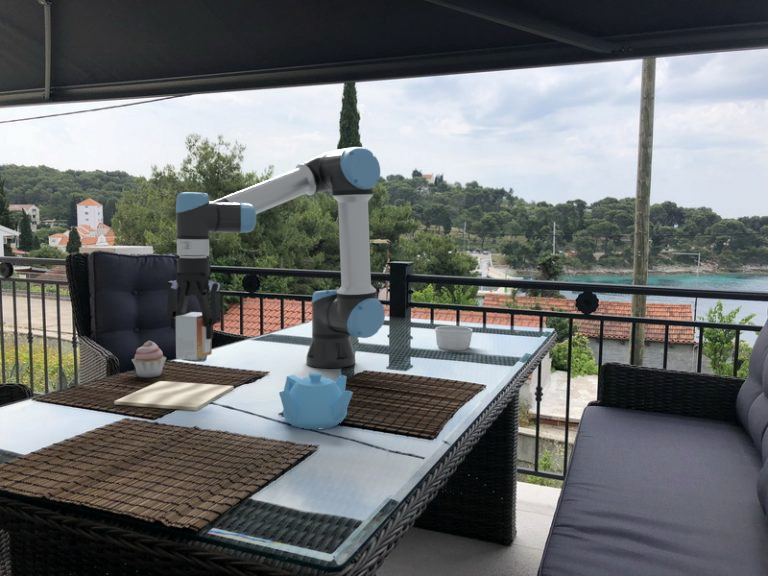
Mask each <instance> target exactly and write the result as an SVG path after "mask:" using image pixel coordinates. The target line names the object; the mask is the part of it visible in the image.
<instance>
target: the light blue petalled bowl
mask: <svg viewBox="0 0 768 576" xmlns="http://www.w3.org/2000/svg"><path fill="white" fill-rule="evenodd" d="M322 376H323V374H322V373H321V372H310V373H309V374H308V377H304V378H300V377H298V376H297V375H295V374H290V375H287V376H286V379H285V384H284V388H283V391H279V398H280V400H281V404H282V408H283V410H282V415H283V417H284V419H285V420H286V421H287V423H289V425H290V424H291V425H290V426H291V427H294V426H295V427H294V428H297V427H298V429H301V428H304V429H303V430H310V429H317V430H320V429H319V428H327V429H330V428H329V427H331V428H334V427H333V426H335V427H337V426H338V424H339V423H340V424H341V423H342V422H343V421H344V420H345V418H346V416H347V415H348V406H349V404H350V401H351V399H352V397H353V394H354V392H353V391H350V390H346V388H347V387H346V386H347V385H346V384H347V378H348V377H347V375H344V374H343V375H339V376H338V377H337V379H336V381H335V380H334V379H332V378H328V377H322ZM340 424H339V425H340ZM336 425H337V426H336Z"/></svg>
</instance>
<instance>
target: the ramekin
mask: <svg viewBox="0 0 768 576" xmlns="http://www.w3.org/2000/svg"><path fill="white" fill-rule="evenodd" d="M434 332H435V337H436V338H435V339H436V345H437V347H438V349H441V350H445V351H465V350H468V349H469V348H470V345H471V342H472V336H473V333H474V332H473V328H470V327H466V326H461V325H460V326H459V325H441V326H436V327H435V329H434Z"/></svg>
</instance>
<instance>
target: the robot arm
mask: <svg viewBox="0 0 768 576" xmlns="http://www.w3.org/2000/svg"><path fill="white" fill-rule="evenodd" d="M380 178H381V166H380V162H379V160H378V158H377V156H376V155H375V154H374V153H373V152H372V151H371V150H369V149H368V148H365V147H361V146H352V147H350V146H349V147H347V148H346V147H345V148H341V149H340V148H339V149H335V150H334V149H332V150H328V151H325V152H323V153H321V154H318V155H316V156H315V157H312V158H310V159H308V160H306V161H303V162H301V163H299V164H296V166H295V169H293V170H290V171H287V172H285V173H282V174H280V175H277V176H275V177H273V178H269V179H267V180H264V181H261V182H259V183H256V184H254V185H251V186H249V187H246V188H243V189H241V190H238V191H236V192H234V193H233V192H232V193H230V194H228V195H226V196H224V197H221V198H218V199H216V200H212V201H210V196H209V194H208V193H206V192H194V191H193V192H191V191H188V192H187V191H185V192H183V191H181V192H179V193H178V194H177V196H176V203H175V218H176V219H175V220H176V255H177V256H179V257H178V258H177V259H176V272H177V277H176V279H175V280H170V281H166V282H165V287H166V291H167V310H166V311H167V314H166V321H167V322H169V323H173V324H174V336H175V337H176V316H180V315H184V314H187V309H188V305H189V303H190V302H189V301H190V298H191V297H192V296H195V298H196V300H197V301H198V304H199V308H200V311H201V312H202V316H203V319H204V323H205V325H204V326H202V353H207V352H209V351H210V339H213V338H214V325H217V324H218V323H219V324H220V323H221V321H222V319H221V318H222V316H221V300H220V299H221V297H220V296H221V293H220V292H221V288H222V283H221V282H215V281H213V280H211V277H210V259H209V258H208V256H209V255H210V233H231V234H232V233H233V234H234V233H235V234H236V233H237V234H238V233H239V234H242V233H251V232H252V231H254V229H255V228H256V225H257V215H258V214H260V213H261V212H264V211H267V210H270V209H272V208H274V207H276V206H279V205H283V204H284V203H286V202H289V201H291V200H294V199H296V198H298V197H302V196H303V195H306V196H313V195H315V194H317V193H322V192H329V191H331V194H332V195H331V196H332V198H333V199H334V200H335V201H337V209H338V231H339V233H338V234H339V235H338V236H339V256H340V257H339V258H340V259H339V260H340V261H339V262H340V278H341V279H340V280H341V281H340V282H341V283H340V284H341V286H340V287H339V288H338V289H328V290H327V289H326V290H317V291H314V292H313V294H312V298H311V299H312V300H311V318H312V319H311V332H312V333H311V336H312V337H311V341H310V344H309V348H308V351H307V354H306V358H305V359H306V365H307V366H309V367H313V368H320V369H341V368H346V367H351V366H354V365H355V364H356V355H355V354H356V353H355V350H354V349H353V345H352V341H351V338H350V337H353V338H358V339H359V338H361V339H368V338H370V337H371V338H372V337H373V336H375V334H377V333H378V332H379V330H380V329H381V328H382V327H383V325H384V322H385V317H386V312H385V311H386V310H385V307H384V305H383V304H382V303H381V301H380V300H378V297H377V296H378V295H377V289H376V288H375V287H374V286H373V285H372V279H371V248H370V247H371V246H370V245H371V244H370V223H369V221H370V220H369V217H370V216H369V201H370V200H371V198H372V197H374V186H376V185H377V184H378V182H379V180H380ZM178 288H179V289H180V294H179V301H178ZM207 289H209V290H210V295H209V296H210V301H209V300H208V292H207Z"/></svg>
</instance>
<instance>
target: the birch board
mask: <svg viewBox="0 0 768 576" xmlns="http://www.w3.org/2000/svg"><path fill="white" fill-rule="evenodd" d="M233 390H234V385H225V384H224V385H223V384H212V383H211V384H210V383H208V384H207V383H194V382H181V381H179V382H178V381H166V380H165V381H164V380H163V381H162V380H159V381H157V382H154V383H152V384H150V385H148V386H146V387H143V388H141V389H139V390H137V391H134V392H132V393H130V394H127V395H125V396H123V397H121V398H118V399H116V400H114V401H113V402H114V405H116V406H117V405H118V406H119V405H120V406H129V407H130V406H132V407H142V408H143V407H144V408H156V409H157V408H159V409H170V410H171V409H172V410H181V411H182V410H183V411H198V410H201V408H204V407H206V406H207V405H208V404H210V403H212V402H214V401H216V400H217V399H218V398H221V397H222V396H224V395H225V394H228V393H229V392H231V391H233Z"/></svg>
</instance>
